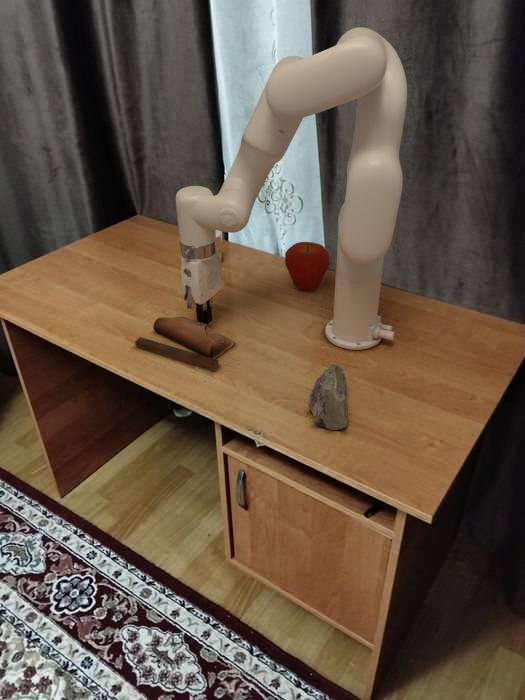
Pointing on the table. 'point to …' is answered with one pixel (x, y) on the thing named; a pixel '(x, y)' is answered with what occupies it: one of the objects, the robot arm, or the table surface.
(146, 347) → the rail
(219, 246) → the beer glass
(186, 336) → the sunglasses case
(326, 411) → the mineral rock
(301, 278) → the apple
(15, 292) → the table surface
